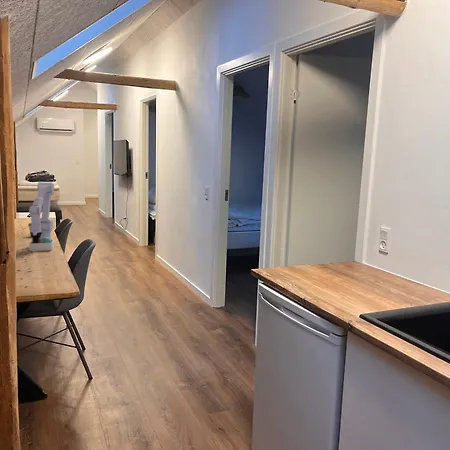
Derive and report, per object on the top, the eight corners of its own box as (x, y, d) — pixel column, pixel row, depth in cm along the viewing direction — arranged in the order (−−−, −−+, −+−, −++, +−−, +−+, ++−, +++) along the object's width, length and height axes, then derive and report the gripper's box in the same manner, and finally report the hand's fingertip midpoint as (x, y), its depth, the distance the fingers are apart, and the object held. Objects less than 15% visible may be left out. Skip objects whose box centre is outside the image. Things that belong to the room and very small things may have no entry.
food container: (47, 235, 349) (47, 222, 347) (43, 236, 343) (43, 223, 341) (32, 234, 350) (32, 222, 348) (28, 236, 344) (28, 223, 342)
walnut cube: (41, 245, 303) (41, 237, 302) (40, 246, 298) (40, 239, 297) (33, 245, 302) (33, 238, 301) (32, 246, 297) (32, 239, 296)
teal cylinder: (51, 247, 305) (50, 237, 303) (50, 248, 300) (50, 238, 299) (43, 247, 303) (42, 237, 302) (42, 249, 298) (42, 238, 297)
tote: (32, 247, 305) (32, 240, 304) (54, 246, 308) (54, 239, 307) (29, 251, 294) (29, 243, 293) (52, 250, 297) (51, 243, 296)
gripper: (31, 222, 303) (32, 241, 306) (27, 225, 289) (28, 246, 292) (42, 222, 305) (43, 241, 307) (39, 225, 291) (40, 245, 293)
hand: (37, 243), depth 300 cm, fingers closed on walnut cube, 5 cm apart
